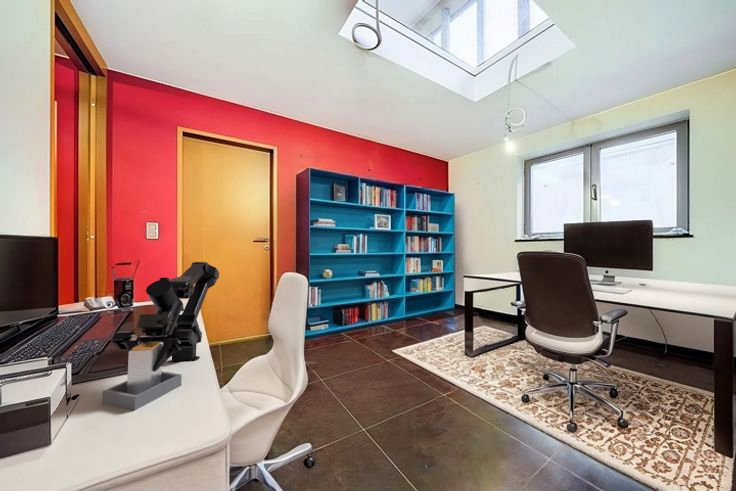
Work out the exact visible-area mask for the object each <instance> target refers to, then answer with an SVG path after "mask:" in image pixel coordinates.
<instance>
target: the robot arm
mask: <svg viewBox="0 0 736 491" xmlns="http://www.w3.org/2000/svg"><path fill="white" fill-rule="evenodd" d="M219 278H220V271H219V269H218V268H217V267H216V266H213V265H210V264H209V263H208V262H206V261H193V262H192V263H191V265H190V267H188V269H186V270H185V271H184V272H183V273H182V274H181V275H180V276H177V277H172V278H169V277H168V276H166V277H163V276H161V277H159V279H158V280H156V281H155V280H154V282H151V283H150V284H149V285H147V287H146V289H145V293H146V294H147V296H148V298H149V299H150V301H151V303H153V306H155V307H157V310H156V312H155V313H149V314H147V313H144V314H139V316H138V320H137V323H136V328H140V329H141V330H140V331H141V332H142V333H143V334H144V335H139V334H136V333H135V332H134V331H133V330H124V331H123V330H122V331H119V330H118V331H116V332H114V333H113V334H112V336H111V338H110V339H109V342H111V344H112V345H114V346H115V347H116V348H117V349H118V350H120V351H128V352H129V351H130V350H132V348H133V347H135V346H137V345H139V344H140V343H142V342H159V343H163V344H162V349H161V351H160V354H159V356H158V358H157V360H156V362H155V365H154V368H153V371H157V370H158V369H159V368H160V367H161V366H162V365H164V364H165V363H166V362H167V361H168V364H169V363H176V364H179V363H188V362H190V363H191V362H194V361H196V360H198V359H200V356H199V355H197V344H199V343H202V338H203V332H202V331H201V328H200V326H199V323H198V316H199V313H200V312H201V311H200V310H201V309H202V306H203V305H204V304H203V303H204V302H205V298H206V296H207V293H208V291H209V289H210V288H212V287H213V286H215V285H216V282H218V280H219ZM185 299H186V300H187V302H186V305H185V306H184V303H183V301H182V300H185ZM181 312H182V313H181ZM170 358H171V360H169V359H170ZM162 367H163V366H162Z"/></svg>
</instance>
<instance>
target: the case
mask: <svg viewBox="0 0 736 491" xmlns="http://www.w3.org/2000/svg"><path fill="white" fill-rule="evenodd" d="M182 376H183V375H182V374H180V373H175V372H169V371H164V370H163V371H162V370H161V383H160V384H158V385H156V386H154V387H152V388H150V389H148V390H146V391H144V392H142V393H140V394H138V395H133V394H128V393H127V381H128V380H125V381H123V382H121V383H119V384H116V385H114V386H111V387H110V388H106V389H104V390H102V399H101V400H102V401H101V402H102V405H107V406H111V407H116V408H121V409H124V410H130V411H137V410H138V409H141V408H142V407H145V406H146V405H148V404H150V403H152V402H153V401H155V400H157V399H159V398H161V397H163V396H165V395H167V394H168V393H170V392H172V391H174V390H176V389H177V388H179V387H182Z"/></svg>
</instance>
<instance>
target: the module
mask: <svg viewBox="0 0 736 491" xmlns="http://www.w3.org/2000/svg"><path fill="white" fill-rule="evenodd" d="M162 346H163V343H159V342H142V343H140V344H139V345H137V346H135V347H133V348H132V350H130V351H129V350H128V357H127V358H128V359H127V362H128V364H127V380H126V381H127V393H128V394H133V395H138V394H140V393H142V392H144V391H146V390H148V389H150V388H152V387H154V386H156V385H158V384H160V383H161V371H162V367H163V366H161V367H160V368H159V369H158V370H157V371H153V368H154V365H155V362H156V360H157V358H158V356H159V354H160V351H161V349H162Z"/></svg>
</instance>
